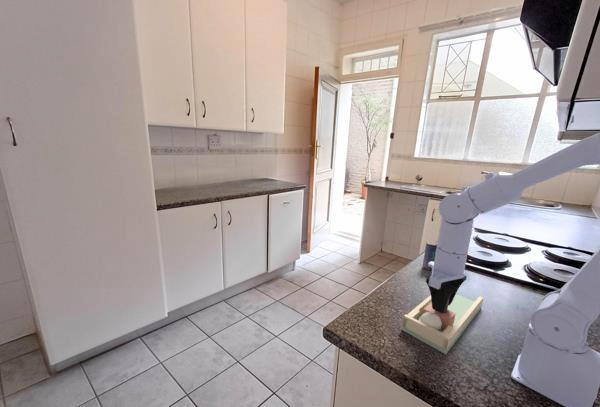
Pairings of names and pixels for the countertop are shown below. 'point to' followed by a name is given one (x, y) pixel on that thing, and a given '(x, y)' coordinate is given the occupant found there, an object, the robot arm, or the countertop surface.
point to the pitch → (441, 338)
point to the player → (442, 315)
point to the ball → (431, 320)
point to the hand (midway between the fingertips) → (441, 306)
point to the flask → (429, 254)
